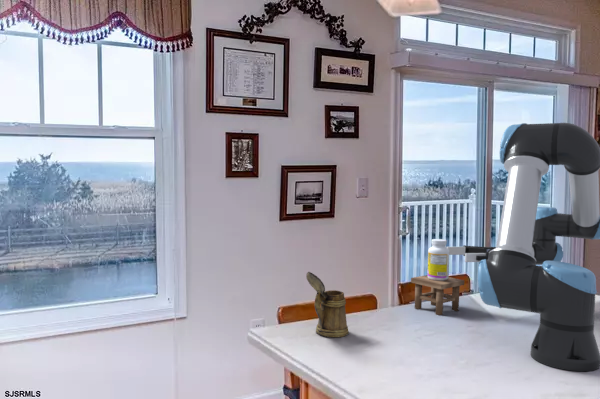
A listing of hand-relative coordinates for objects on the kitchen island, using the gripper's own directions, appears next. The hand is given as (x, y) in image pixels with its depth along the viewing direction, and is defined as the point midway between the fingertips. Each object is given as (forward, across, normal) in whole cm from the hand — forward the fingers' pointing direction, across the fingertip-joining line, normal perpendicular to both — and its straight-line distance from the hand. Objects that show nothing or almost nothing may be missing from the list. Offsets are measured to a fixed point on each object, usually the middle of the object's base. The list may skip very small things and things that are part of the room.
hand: (455, 254), depth 172 cm
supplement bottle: (+6, 0, -8) cm, 10 cm away
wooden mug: (+48, -22, -18) cm, 55 cm away
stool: (+6, 0, -18) cm, 19 cm away
